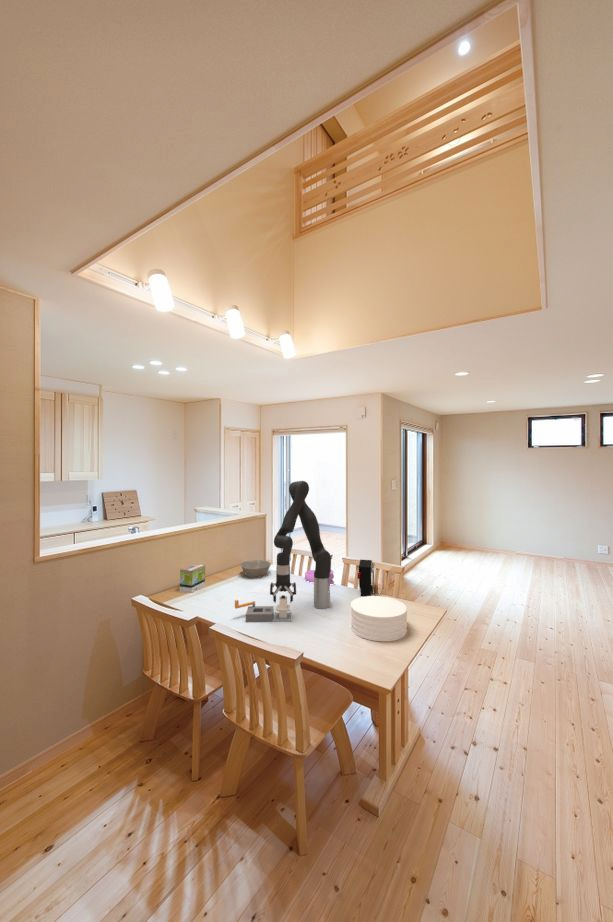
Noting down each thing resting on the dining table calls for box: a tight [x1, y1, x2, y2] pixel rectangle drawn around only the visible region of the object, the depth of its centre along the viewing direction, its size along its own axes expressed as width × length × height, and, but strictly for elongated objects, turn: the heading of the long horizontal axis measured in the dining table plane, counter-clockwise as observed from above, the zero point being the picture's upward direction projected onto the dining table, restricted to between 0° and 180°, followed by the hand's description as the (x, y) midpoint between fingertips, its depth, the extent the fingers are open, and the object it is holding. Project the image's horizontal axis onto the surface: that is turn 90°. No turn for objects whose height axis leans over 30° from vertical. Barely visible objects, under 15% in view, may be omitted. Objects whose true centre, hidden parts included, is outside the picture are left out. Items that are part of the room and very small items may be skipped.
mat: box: [273, 611, 292, 623], centre depth 200 cm, size 9×11×1 cm
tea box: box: [179, 563, 206, 594], centre depth 246 cm, size 15×10×15 cm, turn 162°
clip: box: [234, 599, 256, 609], centre depth 202 cm, size 2×12×5 cm, turn 126°
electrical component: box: [357, 559, 376, 597], centre depth 236 cm, size 18×10×20 cm, turn 168°
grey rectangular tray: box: [245, 605, 275, 623], centre depth 200 cm, size 14×11×4 cm
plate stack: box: [350, 595, 408, 643], centre depth 188 cm, size 28×28×12 cm
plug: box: [275, 595, 291, 618], centre depth 200 cm, size 7×7×11 cm
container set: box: [304, 569, 335, 585], centre depth 257 cm, size 25×15×13 cm, turn 38°
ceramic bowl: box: [239, 559, 271, 579], centre depth 271 cm, size 22×23×10 cm
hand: (283, 602), depth 200 cm, fingers open, 8 cm apart
